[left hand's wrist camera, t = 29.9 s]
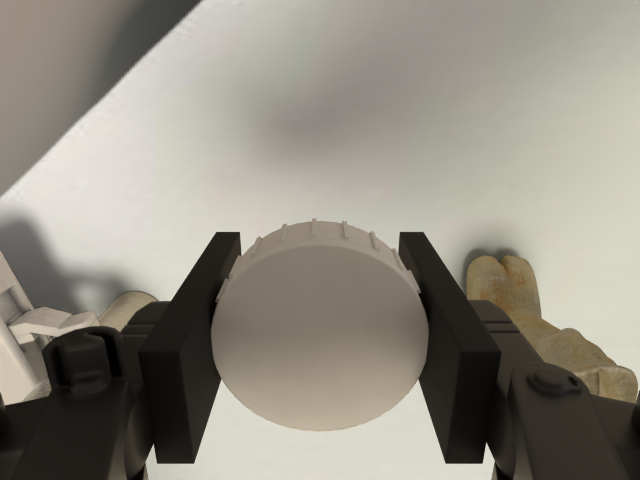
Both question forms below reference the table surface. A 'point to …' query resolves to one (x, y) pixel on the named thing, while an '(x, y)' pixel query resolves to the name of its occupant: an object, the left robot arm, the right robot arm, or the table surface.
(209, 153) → the table surface
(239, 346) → the lid
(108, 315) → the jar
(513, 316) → the sculpture
